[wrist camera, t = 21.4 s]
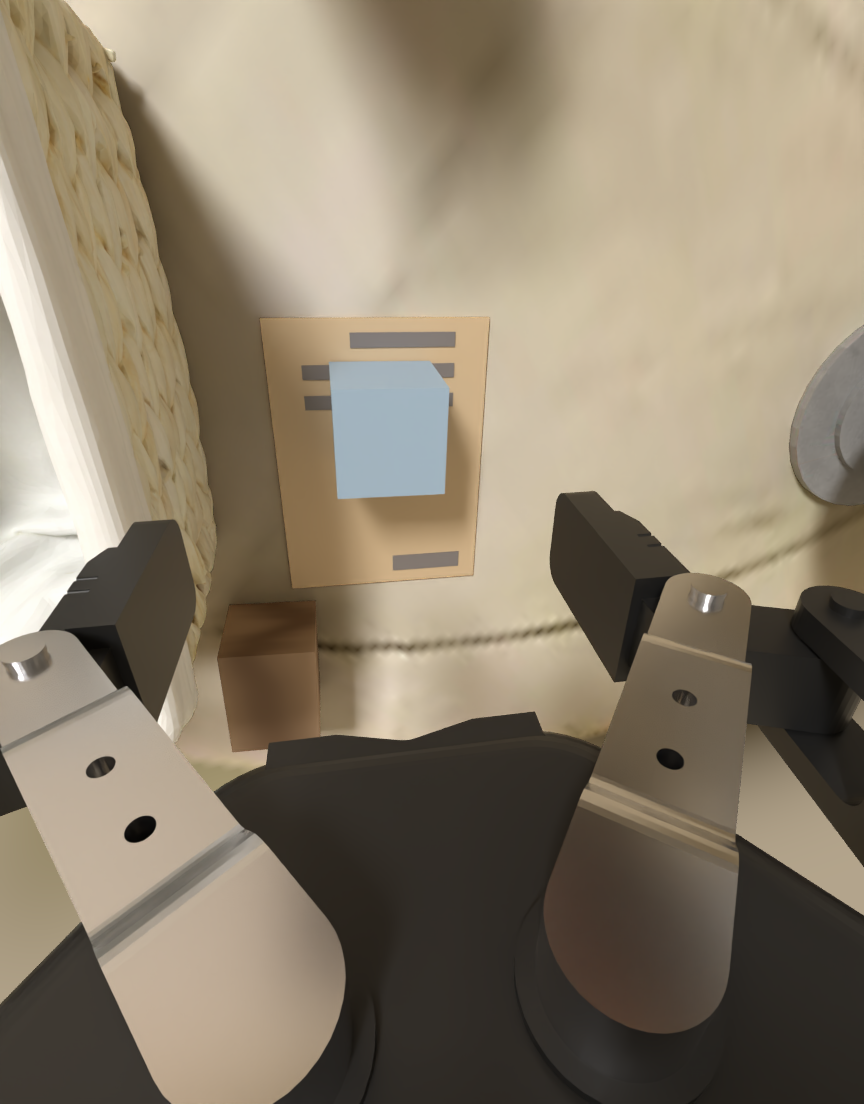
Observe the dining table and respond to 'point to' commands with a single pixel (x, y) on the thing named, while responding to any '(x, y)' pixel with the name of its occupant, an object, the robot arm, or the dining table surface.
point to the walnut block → (270, 673)
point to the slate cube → (389, 428)
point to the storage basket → (85, 339)
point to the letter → (309, 462)
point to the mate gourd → (833, 427)
